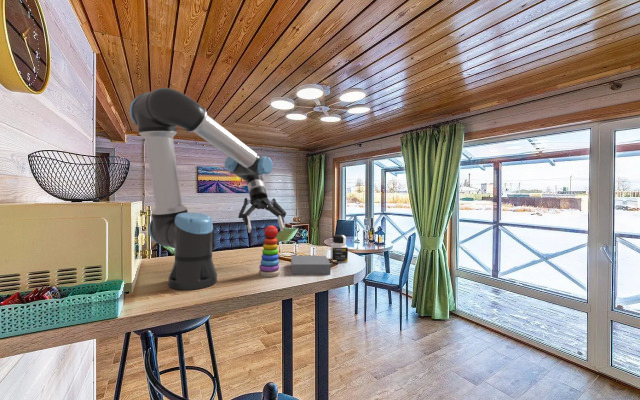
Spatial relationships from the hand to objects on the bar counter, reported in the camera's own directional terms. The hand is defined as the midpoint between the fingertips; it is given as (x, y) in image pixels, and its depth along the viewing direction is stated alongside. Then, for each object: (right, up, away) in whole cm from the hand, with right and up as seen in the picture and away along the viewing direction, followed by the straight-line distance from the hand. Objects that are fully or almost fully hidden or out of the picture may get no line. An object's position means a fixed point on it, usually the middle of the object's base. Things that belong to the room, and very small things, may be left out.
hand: (266, 230), depth 118 cm
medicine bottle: (+30, -16, +18) cm, 39 cm away
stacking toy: (+2, -16, -7) cm, 18 cm away
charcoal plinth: (+17, -16, +1) cm, 24 cm away
